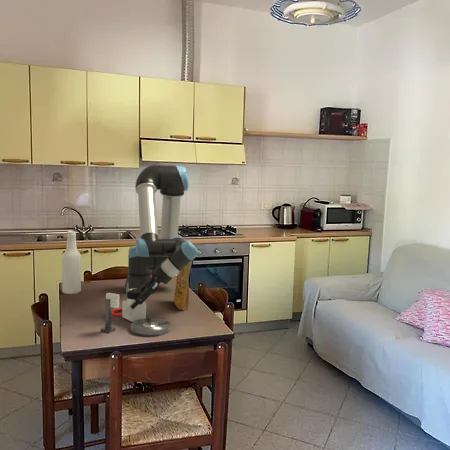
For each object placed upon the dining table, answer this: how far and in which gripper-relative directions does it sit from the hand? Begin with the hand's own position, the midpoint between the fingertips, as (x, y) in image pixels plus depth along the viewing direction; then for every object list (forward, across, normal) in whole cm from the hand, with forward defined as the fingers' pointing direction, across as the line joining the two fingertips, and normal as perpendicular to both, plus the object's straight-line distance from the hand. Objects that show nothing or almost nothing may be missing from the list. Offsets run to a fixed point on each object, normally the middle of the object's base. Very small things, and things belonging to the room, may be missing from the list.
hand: (126, 308), depth 192 cm
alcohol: (+25, +41, +17) cm, 51 cm away
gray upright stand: (+7, -14, +1) cm, 15 cm away
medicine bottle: (+1, 0, -5) cm, 5 cm away
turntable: (-4, -12, -10) cm, 16 cm away
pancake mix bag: (-13, +19, -20) cm, 31 cm away
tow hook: (+5, +8, -2) cm, 10 cm away
